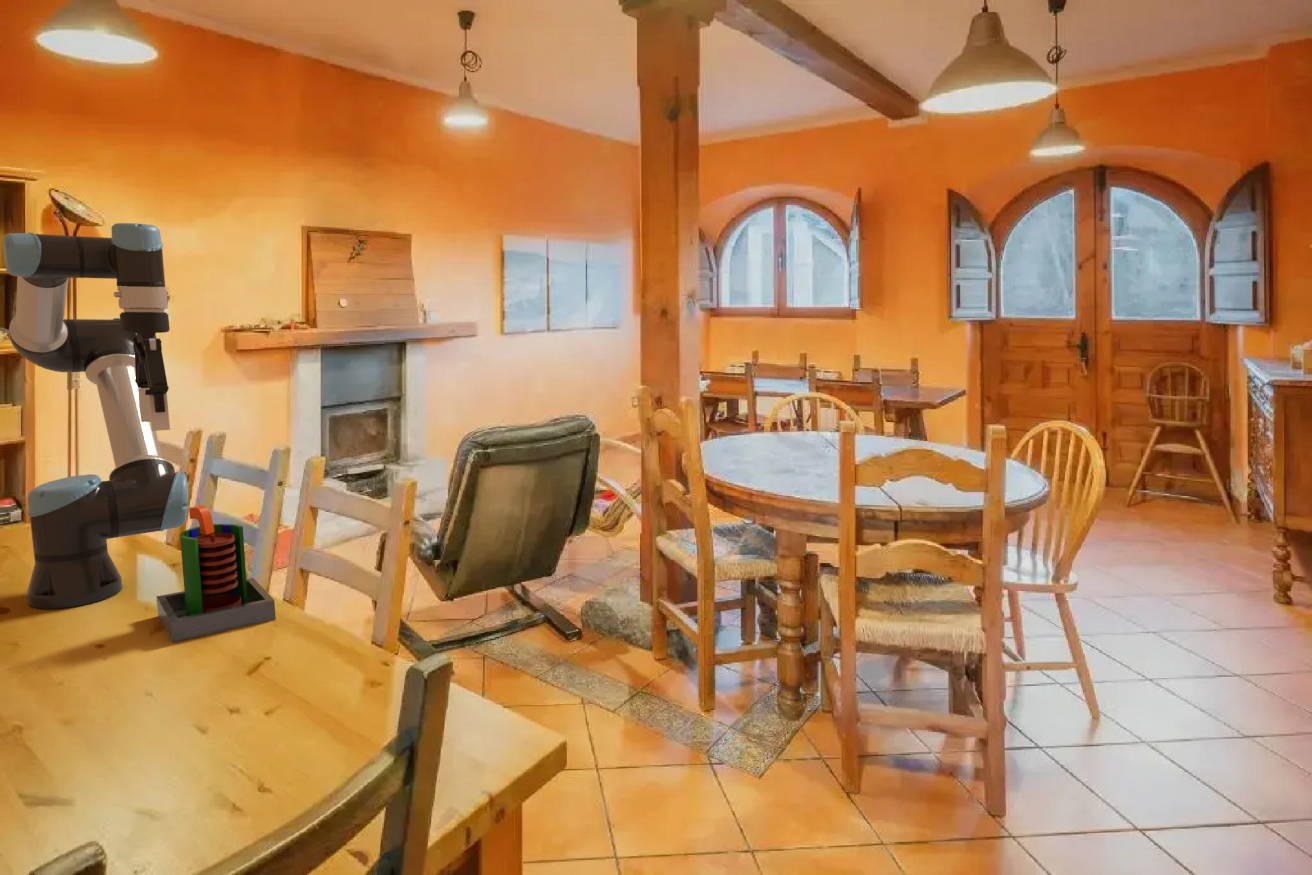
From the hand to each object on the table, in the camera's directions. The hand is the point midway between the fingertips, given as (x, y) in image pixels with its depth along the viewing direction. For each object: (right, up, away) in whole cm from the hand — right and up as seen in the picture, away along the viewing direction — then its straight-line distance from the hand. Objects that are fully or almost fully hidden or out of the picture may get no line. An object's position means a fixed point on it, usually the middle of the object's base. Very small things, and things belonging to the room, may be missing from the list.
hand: (155, 425), depth 148 cm
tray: (+13, -36, -2) cm, 38 cm away
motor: (+12, -35, -1) cm, 37 cm away
